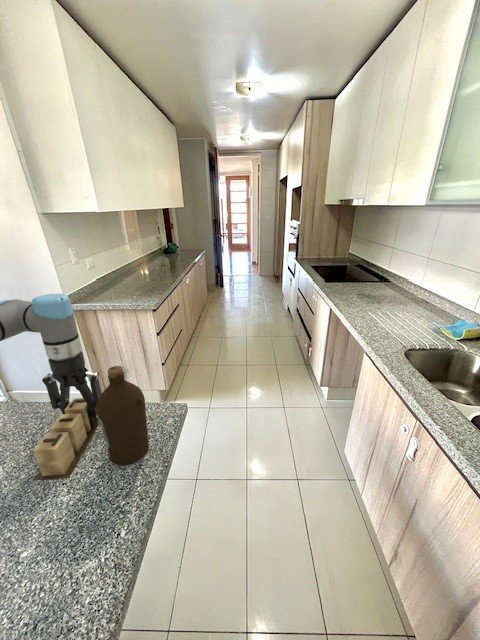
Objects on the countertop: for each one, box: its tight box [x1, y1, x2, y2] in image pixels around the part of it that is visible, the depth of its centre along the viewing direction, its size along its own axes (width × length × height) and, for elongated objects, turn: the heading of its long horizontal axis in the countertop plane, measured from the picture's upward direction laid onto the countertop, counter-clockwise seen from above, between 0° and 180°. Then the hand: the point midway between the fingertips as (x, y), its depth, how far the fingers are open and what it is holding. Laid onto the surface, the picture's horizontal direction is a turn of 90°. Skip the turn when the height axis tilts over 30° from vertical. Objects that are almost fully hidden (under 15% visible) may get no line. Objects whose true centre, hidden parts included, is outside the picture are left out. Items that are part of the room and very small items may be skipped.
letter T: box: [32, 432, 75, 476], centre depth 61 cm, size 5×5×8 cm
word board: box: [32, 416, 100, 482], centre depth 69 cm, size 8×20×1 cm, turn 6°
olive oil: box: [97, 365, 150, 467], centre depth 63 cm, size 11×11×25 cm
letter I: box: [49, 413, 87, 452], centre depth 67 cm, size 5×5×8 cm
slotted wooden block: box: [65, 397, 91, 432], centre depth 73 cm, size 5×5×8 cm
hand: (84, 425), depth 75 cm, fingers closed on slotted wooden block, 5 cm apart
